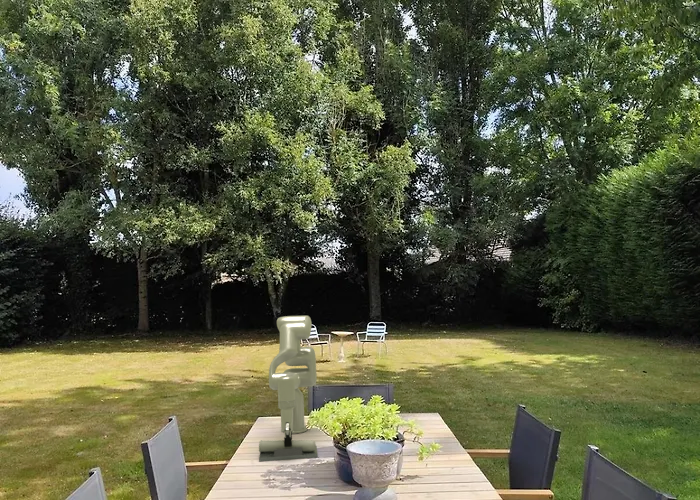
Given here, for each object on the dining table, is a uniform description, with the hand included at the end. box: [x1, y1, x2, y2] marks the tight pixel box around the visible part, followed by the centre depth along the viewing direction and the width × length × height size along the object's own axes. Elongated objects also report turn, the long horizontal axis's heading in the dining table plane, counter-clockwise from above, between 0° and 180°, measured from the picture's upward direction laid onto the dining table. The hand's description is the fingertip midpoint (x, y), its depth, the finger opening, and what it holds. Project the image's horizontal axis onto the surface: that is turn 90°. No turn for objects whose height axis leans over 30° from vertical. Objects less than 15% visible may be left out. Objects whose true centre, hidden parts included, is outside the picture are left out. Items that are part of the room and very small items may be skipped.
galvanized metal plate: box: [258, 445, 319, 462], centre depth 249 cm, size 12×25×4 cm, turn 95°
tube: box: [258, 439, 317, 454], centre depth 249 cm, size 5×5×25 cm
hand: (288, 443), depth 249 cm, fingers open, 9 cm apart
